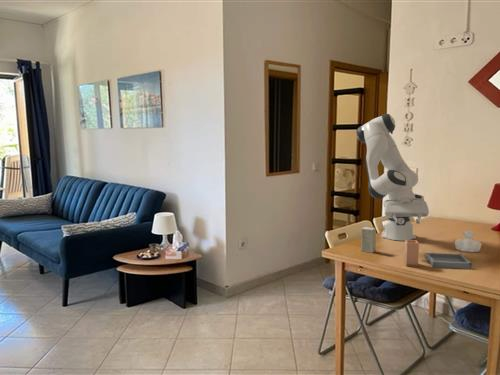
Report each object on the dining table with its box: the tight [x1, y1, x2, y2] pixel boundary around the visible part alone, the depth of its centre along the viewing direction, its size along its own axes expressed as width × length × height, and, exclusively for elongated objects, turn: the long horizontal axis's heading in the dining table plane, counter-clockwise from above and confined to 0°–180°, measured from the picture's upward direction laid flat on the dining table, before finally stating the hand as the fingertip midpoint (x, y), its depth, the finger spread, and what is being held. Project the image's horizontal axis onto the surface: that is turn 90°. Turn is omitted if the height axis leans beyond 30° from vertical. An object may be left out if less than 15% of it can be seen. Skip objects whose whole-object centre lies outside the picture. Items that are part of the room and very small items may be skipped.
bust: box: [454, 230, 482, 253], centre depth 205 cm, size 12×8×11 cm
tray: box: [424, 252, 473, 270], centre depth 186 cm, size 14×16×2 cm
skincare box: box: [360, 226, 377, 254], centre depth 206 cm, size 6×4×12 cm
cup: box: [403, 239, 420, 268], centre depth 184 cm, size 5×5×11 cm
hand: (407, 222), depth 193 cm, fingers open, 8 cm apart
